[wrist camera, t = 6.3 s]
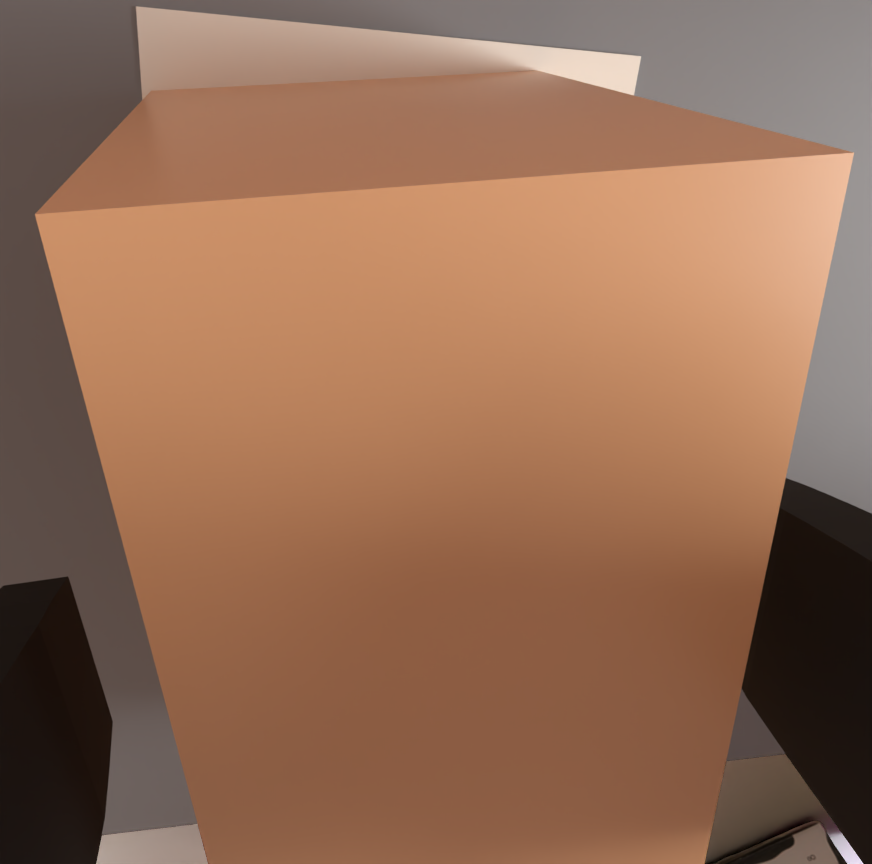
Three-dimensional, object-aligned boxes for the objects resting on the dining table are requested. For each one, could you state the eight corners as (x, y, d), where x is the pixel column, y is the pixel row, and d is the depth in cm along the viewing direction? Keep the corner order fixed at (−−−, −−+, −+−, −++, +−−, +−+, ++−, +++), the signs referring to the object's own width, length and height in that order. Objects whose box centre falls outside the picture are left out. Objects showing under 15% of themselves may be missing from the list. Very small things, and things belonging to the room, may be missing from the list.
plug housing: (538, 70, 10) (854, 151, 5) (521, 650, 15) (673, 1009, 9) (150, 91, 9) (34, 212, 4) (262, 696, 14) (274, 1114, 9)
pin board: (1085, -96, 12) (1531, -143, 8) (772, 711, 19) (915, 905, 15) (-706, -395, 7) (-1941, -905, 3) (-213, 813, 14) (-390, 1131, 10)
